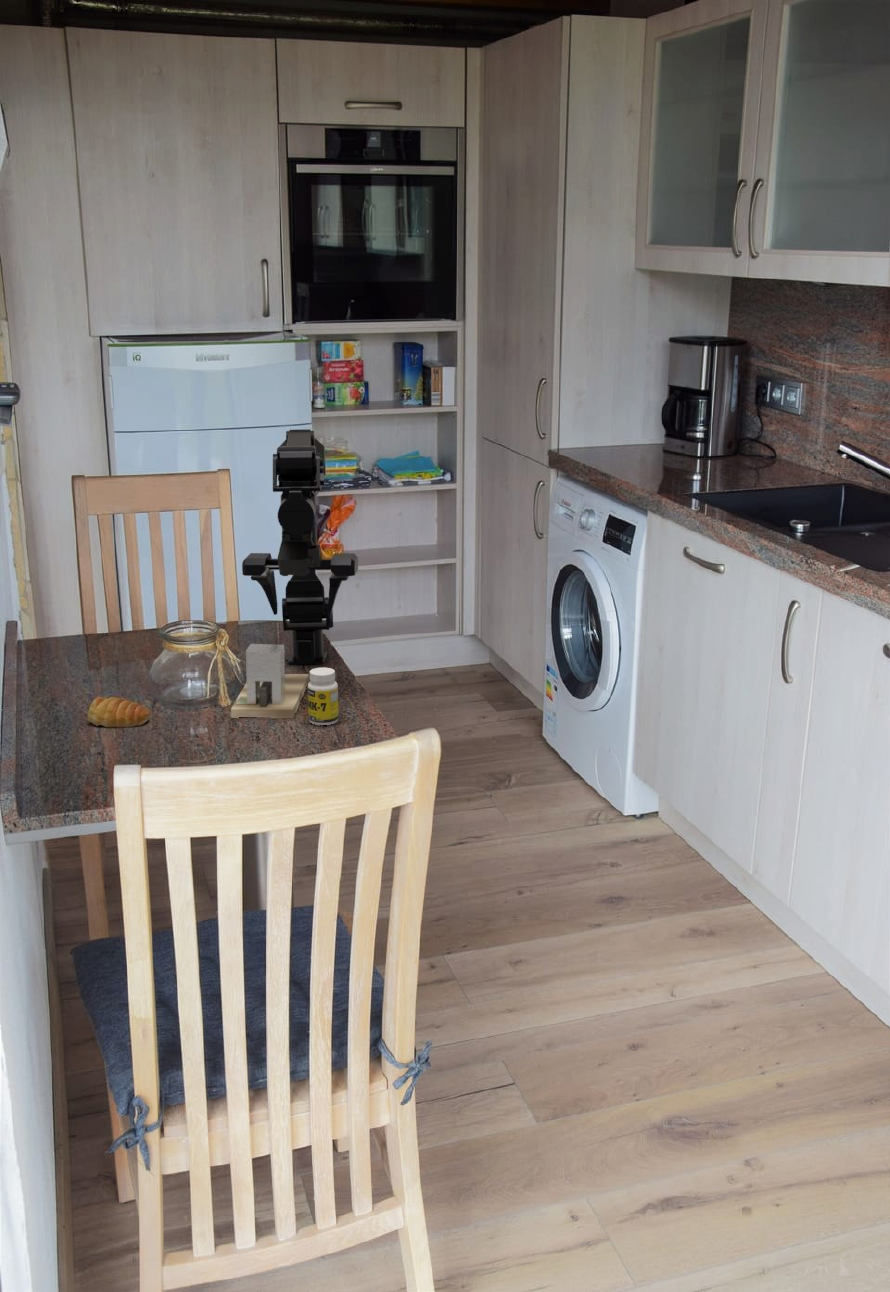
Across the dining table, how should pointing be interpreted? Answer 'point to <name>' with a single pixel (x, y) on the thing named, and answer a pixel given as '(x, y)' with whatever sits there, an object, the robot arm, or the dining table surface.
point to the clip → (265, 671)
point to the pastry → (117, 712)
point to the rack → (264, 707)
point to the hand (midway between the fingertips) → (302, 614)
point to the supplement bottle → (322, 697)
